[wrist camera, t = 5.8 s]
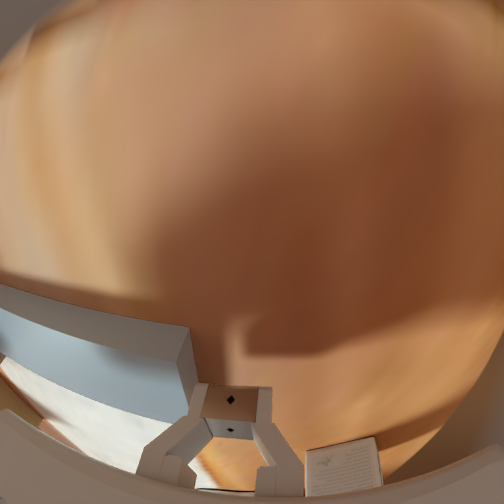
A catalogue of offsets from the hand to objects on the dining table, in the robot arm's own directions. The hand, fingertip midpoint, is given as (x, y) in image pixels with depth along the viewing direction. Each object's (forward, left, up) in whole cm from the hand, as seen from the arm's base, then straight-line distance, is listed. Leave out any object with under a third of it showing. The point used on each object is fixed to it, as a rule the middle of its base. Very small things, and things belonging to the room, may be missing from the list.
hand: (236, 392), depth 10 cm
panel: (+11, +6, -2) cm, 12 cm away
